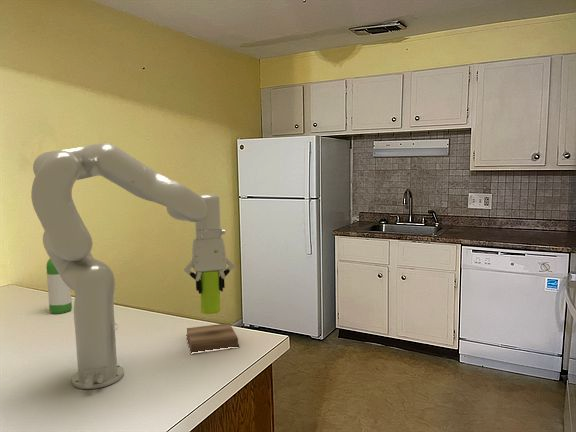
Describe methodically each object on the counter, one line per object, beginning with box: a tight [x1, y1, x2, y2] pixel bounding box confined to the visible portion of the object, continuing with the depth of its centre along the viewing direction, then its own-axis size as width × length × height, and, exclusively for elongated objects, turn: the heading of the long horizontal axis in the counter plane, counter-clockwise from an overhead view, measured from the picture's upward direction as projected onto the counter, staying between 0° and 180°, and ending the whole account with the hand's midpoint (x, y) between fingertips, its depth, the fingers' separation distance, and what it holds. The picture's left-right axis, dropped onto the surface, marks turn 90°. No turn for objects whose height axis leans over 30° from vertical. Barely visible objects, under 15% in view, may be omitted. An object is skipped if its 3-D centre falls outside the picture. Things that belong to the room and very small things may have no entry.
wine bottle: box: [45, 258, 73, 315], centre depth 172 cm, size 8×8×30 cm
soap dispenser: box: [200, 251, 221, 315], centre depth 139 cm, size 6×7×20 cm
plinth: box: [185, 322, 240, 354], centre depth 141 cm, size 15×15×3 cm
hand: (210, 290), depth 139 cm, fingers closed on soap dispenser, 5 cm apart
